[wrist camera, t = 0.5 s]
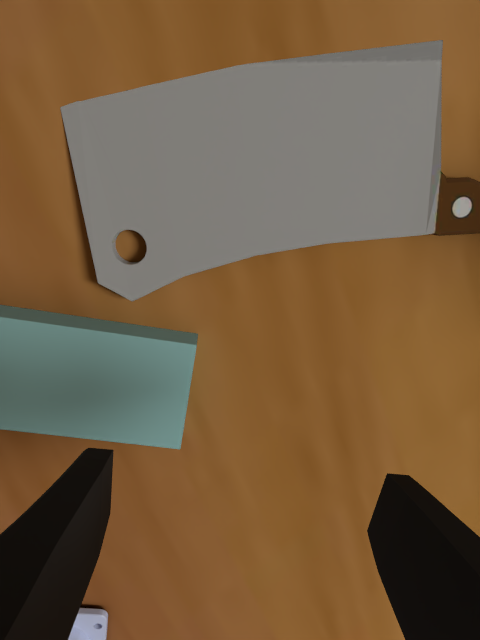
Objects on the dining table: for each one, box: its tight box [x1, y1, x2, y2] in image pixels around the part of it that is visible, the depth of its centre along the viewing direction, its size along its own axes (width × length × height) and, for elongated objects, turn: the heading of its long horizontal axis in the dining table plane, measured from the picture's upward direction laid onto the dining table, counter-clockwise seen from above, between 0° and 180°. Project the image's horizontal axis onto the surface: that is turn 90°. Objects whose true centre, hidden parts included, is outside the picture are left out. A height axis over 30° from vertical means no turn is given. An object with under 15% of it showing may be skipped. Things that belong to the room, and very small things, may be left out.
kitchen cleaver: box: [60, 40, 480, 301], centre depth 16 cm, size 24×1×10 cm
